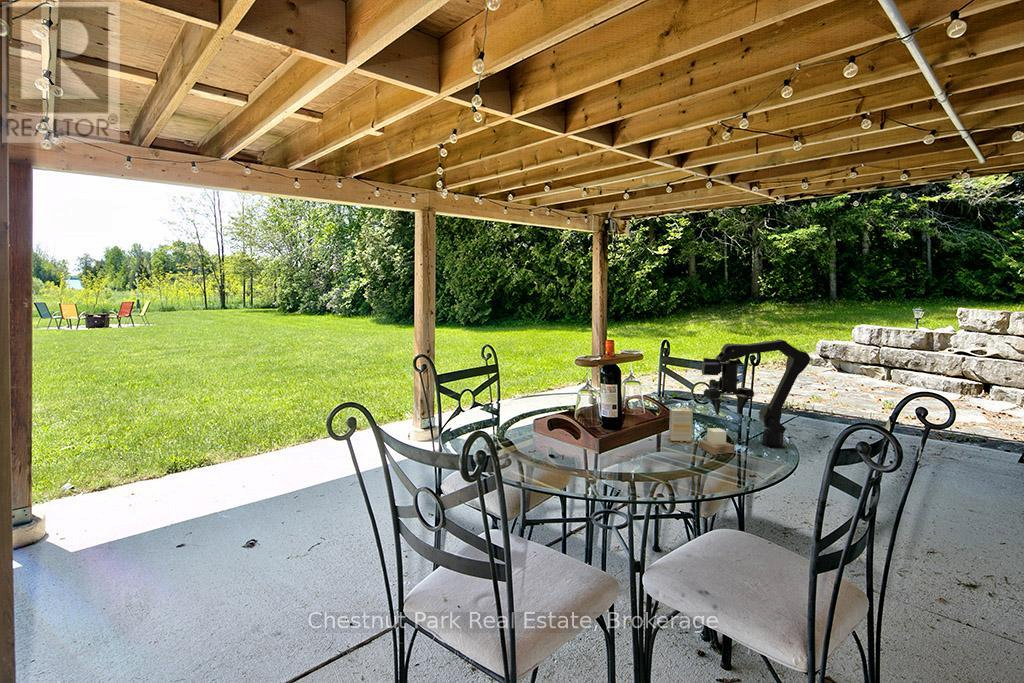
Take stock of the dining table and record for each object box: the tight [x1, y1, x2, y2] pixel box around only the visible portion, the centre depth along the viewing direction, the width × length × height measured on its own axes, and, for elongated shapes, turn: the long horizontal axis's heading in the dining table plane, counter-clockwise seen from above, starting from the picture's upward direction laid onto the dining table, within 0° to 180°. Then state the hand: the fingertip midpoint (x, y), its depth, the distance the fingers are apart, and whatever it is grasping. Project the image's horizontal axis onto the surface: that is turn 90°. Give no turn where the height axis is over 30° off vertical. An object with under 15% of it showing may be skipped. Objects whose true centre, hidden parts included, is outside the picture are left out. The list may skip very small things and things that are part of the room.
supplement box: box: [668, 407, 694, 443], centre depth 207 cm, size 8×5×13 cm, turn 84°
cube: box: [706, 427, 727, 445], centre depth 194 cm, size 5×5×5 cm
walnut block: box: [698, 439, 736, 456], centre depth 195 cm, size 9×9×4 cm
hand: (727, 414), depth 204 cm, fingers open, 9 cm apart
